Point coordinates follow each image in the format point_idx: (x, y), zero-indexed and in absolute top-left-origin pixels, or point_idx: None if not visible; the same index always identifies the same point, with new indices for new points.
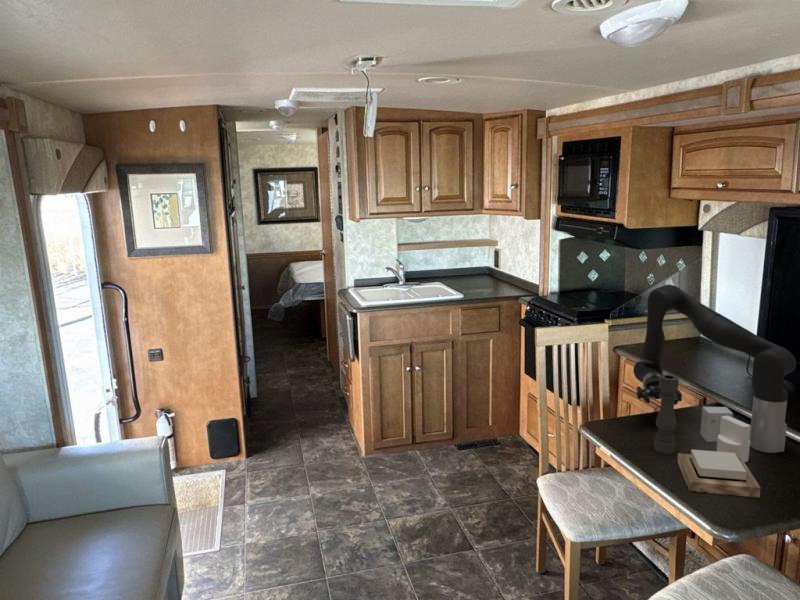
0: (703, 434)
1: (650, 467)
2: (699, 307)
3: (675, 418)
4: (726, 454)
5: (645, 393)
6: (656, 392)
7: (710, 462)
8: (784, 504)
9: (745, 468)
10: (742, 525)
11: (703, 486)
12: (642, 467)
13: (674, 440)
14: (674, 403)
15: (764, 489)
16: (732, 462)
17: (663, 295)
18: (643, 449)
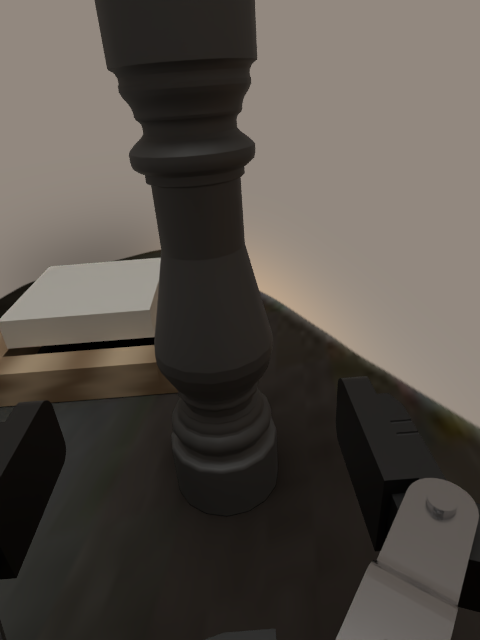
0: None
1: (292, 348)
2: None
3: (156, 316)
4: (37, 310)
5: (428, 478)
6: (229, 637)
7: (122, 275)
8: (8, 302)
9: (1, 333)
10: (140, 256)
11: None
12: (318, 344)
13: (173, 435)
14: (59, 437)
15: None
16: (54, 285)
17: None
18: (328, 452)
